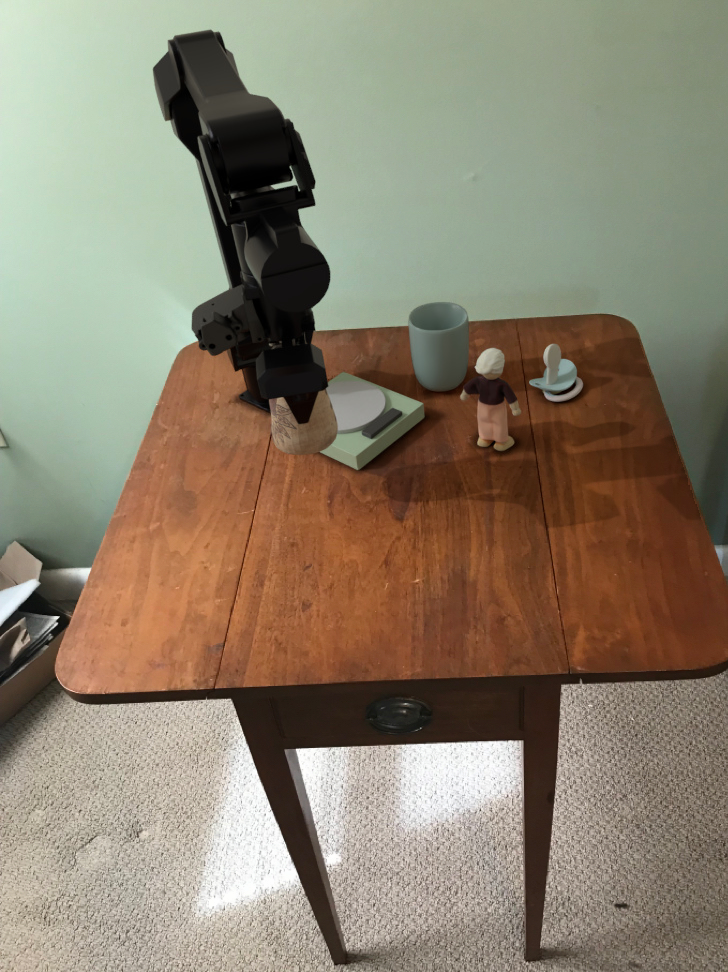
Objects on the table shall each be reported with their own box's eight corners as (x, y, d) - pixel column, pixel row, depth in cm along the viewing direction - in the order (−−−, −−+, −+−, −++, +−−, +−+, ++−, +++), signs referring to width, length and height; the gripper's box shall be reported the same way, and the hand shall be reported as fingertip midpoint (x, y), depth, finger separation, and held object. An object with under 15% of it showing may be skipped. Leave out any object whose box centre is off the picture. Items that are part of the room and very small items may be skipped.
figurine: (306, 410, 88) (288, 314, 80) (352, 431, 85) (338, 333, 76) (260, 441, 84) (236, 344, 76) (306, 465, 81) (286, 365, 72)
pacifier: (592, 385, 102) (553, 370, 105) (598, 343, 97) (557, 329, 100) (561, 411, 98) (522, 395, 101) (566, 369, 94) (525, 353, 97)
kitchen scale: (278, 432, 99) (273, 414, 98) (345, 385, 106) (342, 367, 104) (358, 470, 93) (355, 452, 91) (424, 417, 99) (423, 399, 97)
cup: (471, 397, 102) (469, 329, 95) (412, 401, 102) (407, 333, 95) (468, 366, 107) (467, 299, 100) (413, 369, 108) (408, 303, 101)
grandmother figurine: (525, 436, 95) (528, 344, 86) (518, 455, 92) (520, 362, 83) (465, 428, 97) (462, 338, 88) (456, 446, 94) (452, 355, 86)
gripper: (185, 233, 76) (223, 369, 87) (181, 327, 63) (225, 472, 74) (297, 217, 77) (320, 353, 88) (315, 306, 64) (339, 453, 75)
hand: (300, 403), depth 81 cm, fingers closed on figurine, 6 cm apart
